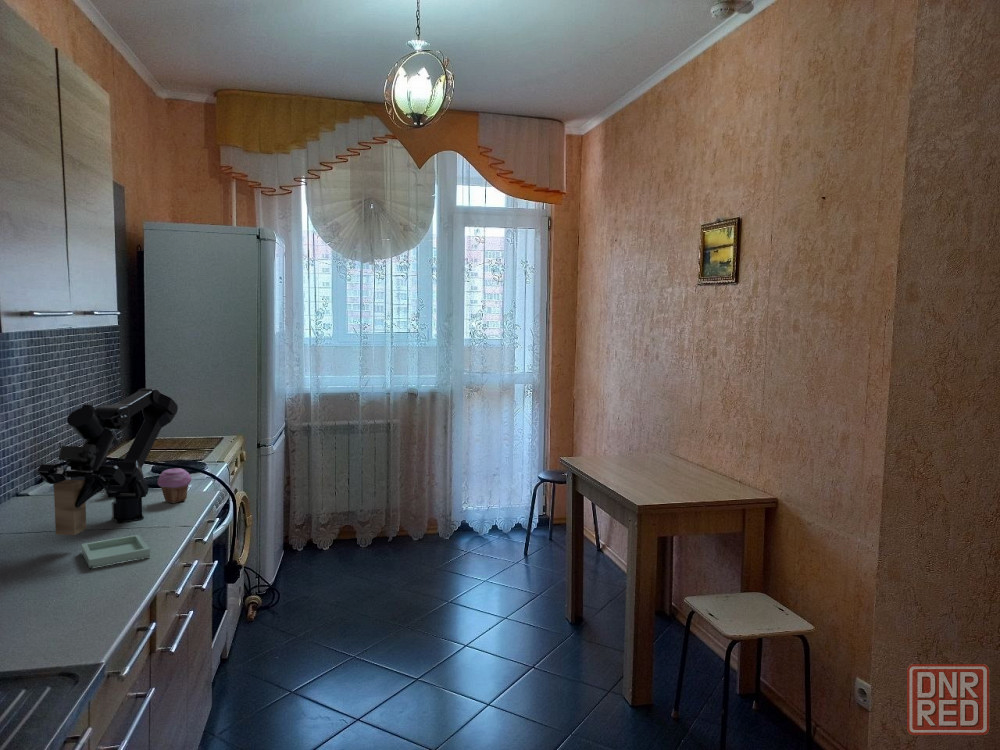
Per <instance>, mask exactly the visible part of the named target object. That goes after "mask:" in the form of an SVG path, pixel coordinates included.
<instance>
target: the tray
mask: <svg viewBox="0 0 1000 750" xmlns="http://www.w3.org/2000/svg"><path fill="white" fill-rule="evenodd" d="M81 554H82V557H83V556H84V557H83V559H84V558H85V559H84V561H85V560H86V561H85V563H86V562H87V563H86V565H87V564H88V565H87V567H88V566H89V567H88V569H89V568H93V567H97V566H103V565H107V564H113V563H117V562H122V561H128V560H134V559H142V558H147V557H150V558H151V550H150V547H149V546H148V545H147V543H146V541H145V540H144V539H143V538H142V537H141V534H131V535H128V536H123V537H122V536H121V537H115V538H109V539H108V538H107V539H103V540H98V541H92V542H85V543H81ZM142 560H143V559H142Z"/></svg>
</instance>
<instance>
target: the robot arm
mask: <svg viewBox="0 0 1000 750" xmlns="http://www.w3.org/2000/svg"><path fill="white" fill-rule="evenodd" d="M178 409H179V408H178V404H177V403H176V401H174V399H173V398H172V397H170V396H168V395H165V394H164V393H161V392H160V391H159V390H158V389H156V388H140V389H137V390H136V392H135V393H133V394H130V395H129V396H127V397H125V398H123V399H122V400H121V401H118V402H117V403H113V404H106V405H100V406H97V407H96V408H94V406H93V405H92V404H82V406H81V407H80V408H77V409H75V410H74V411H72V412H71V413H70V414H69V415H67V418H66V422H67V424H68V426H70V428H71V429H72V430H73V431H74V433H76V435H77V436H78V437H79V438H80V439H82V440H84V441H83V443H82V445H81V446H77V445H76V446H75V445H61V446H60V450H59V453H58V454H59V455H58V458H57V459H58V460H59V461H65V465H66V466H67V467H70V469H67V468H64V467H63V466H61V465H60V464H59V463H49V462H44V463H41V464H40V465H39V467H38V468H37V470H36V473H37V475H38V476H39V477H41V479H43V481H45V483H47V484H49V485H54V484H56V483H59V482H62V481H64V480H72V479H84V480H85V484H84V486H83V488H82V490H81V492H80V494H79V496H78V498H77V500H76V503H75V506H76V507H80V506H81V505H82V504H83V503H85V502H87V501H88V500H90V499H92V497H94V496H95V495H97V494H99V492H101V491H102V490H105V493H106V497H107V499H109V498H113V501H112V502H111V517H112V518H113V520H114V521H115V522H116V523H119V524H120V523H125V522H126V523H127V522H131V521H138V520H143V519H145V516H144V515H143V498H146V497H147V495H148V493H149V488H150V487H149V485H148V483H146V481H145V480H144V479H145V478H144V477H145V476H144V473H143V469H142V468H143V466H144V463H145V462H146V460H147V457H148V456H149V454H150V452H151V450H152V447H153V446H154V445H155V444H154V443H155V442H156V440H157V438H158V436H159V434H160V432H161V430H162V428H164V427H165V426H167V425H169V424H170V423H171V422H172V421H173V419H174V417H176V414H177V413H178ZM140 411H141V412H142V416H143V417H142V418H143V422H142V424H141V426H140V428H139V430H138V432H137V434H136V436H135V438H134V439H133V442H132V443H131V445H130V446H129V449H128V451H127V453H126V455H125V456H124V459H122V461H113V463H111V464H110V465H109V464H108V465H107V462H108V458H107V457H106V455H107V454H108V452H109V450H110V448H111V446H112V445H118V439H117V437H116V433H113V432H112V431H111V430H117V431H118V430H120V431H121V430H123V429H125V428H126V427H127V426H128V425H129V423H131V418H132V417H133V416H134V415H135V414H138V413H139V412H140ZM102 464H103V465H102Z"/></svg>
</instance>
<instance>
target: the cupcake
mask: <svg viewBox="0 0 1000 750" xmlns="http://www.w3.org/2000/svg"><path fill="white" fill-rule="evenodd" d="M191 482H192V476H191V475H190V473H189V472H188V471H187V470H186V469H184V468H180V467H179V468H178V467H177V468H168V469H165V470H163V471H162V472H161V473H160V474H159V476H158V479H157V485H158V486H159V487H160V488H161V491H162V495H163V498H164V500H165V501H166V502H168V503H170V504H176V503H179V502H183V501H186V499H187V497H188V489H189V486H190V484H191Z"/></svg>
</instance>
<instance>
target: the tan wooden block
mask: <svg viewBox="0 0 1000 750" xmlns="http://www.w3.org/2000/svg"><path fill="white" fill-rule="evenodd" d="M84 484H85V479H70V480H64V481H62V482H59V483H56V484H53V497H54V499H53V500H54V525H55V527H54V528H55V535H57V536H58V535H59V536H75V535H77V534H80V533H81V532H84V531H86V530H87V506H86V502H87V501H86V502H85V503H83V504H82V505H81V506H80V507H76V506H75V503H76V500H77V498H78V496H79V494H80V492H81V490H82V488H83V486H84Z"/></svg>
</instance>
